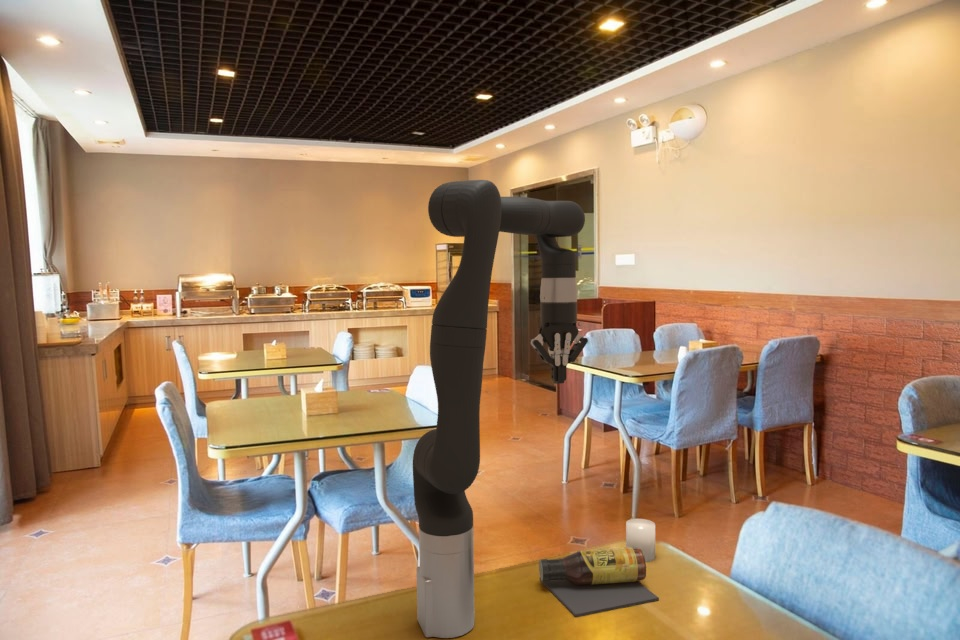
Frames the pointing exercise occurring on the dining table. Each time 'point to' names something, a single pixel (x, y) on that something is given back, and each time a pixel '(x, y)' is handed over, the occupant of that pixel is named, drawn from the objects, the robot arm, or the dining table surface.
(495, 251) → the robot arm
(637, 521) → the white rounded cylinder
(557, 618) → the dining table surface
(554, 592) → the bar mat
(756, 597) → the dining table surface
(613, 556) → the sauce bottle
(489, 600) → the dining table surface
